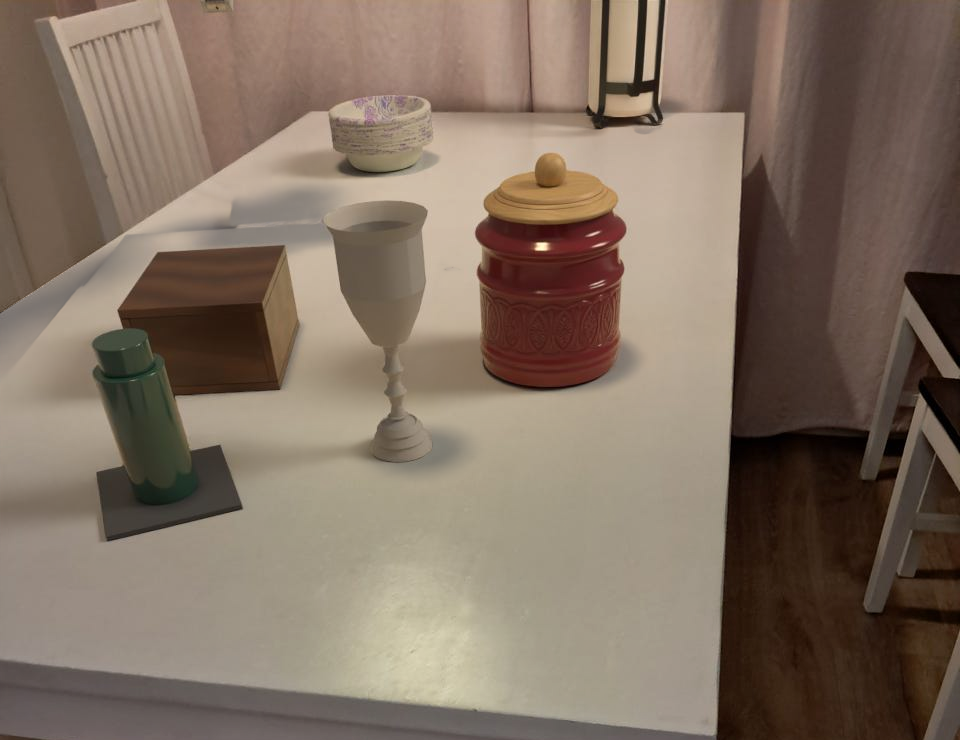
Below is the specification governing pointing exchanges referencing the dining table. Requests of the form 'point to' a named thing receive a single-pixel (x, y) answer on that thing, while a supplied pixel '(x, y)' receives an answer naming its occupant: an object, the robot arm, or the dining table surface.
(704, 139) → the dining table surface
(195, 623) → the dining table surface
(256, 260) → the brown wooden box
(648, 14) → the lantern
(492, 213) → the kitchen canister
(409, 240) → the chalice
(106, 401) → the bottle
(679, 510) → the dining table surface
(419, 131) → the paper bowls
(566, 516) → the dining table surface
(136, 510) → the mat
